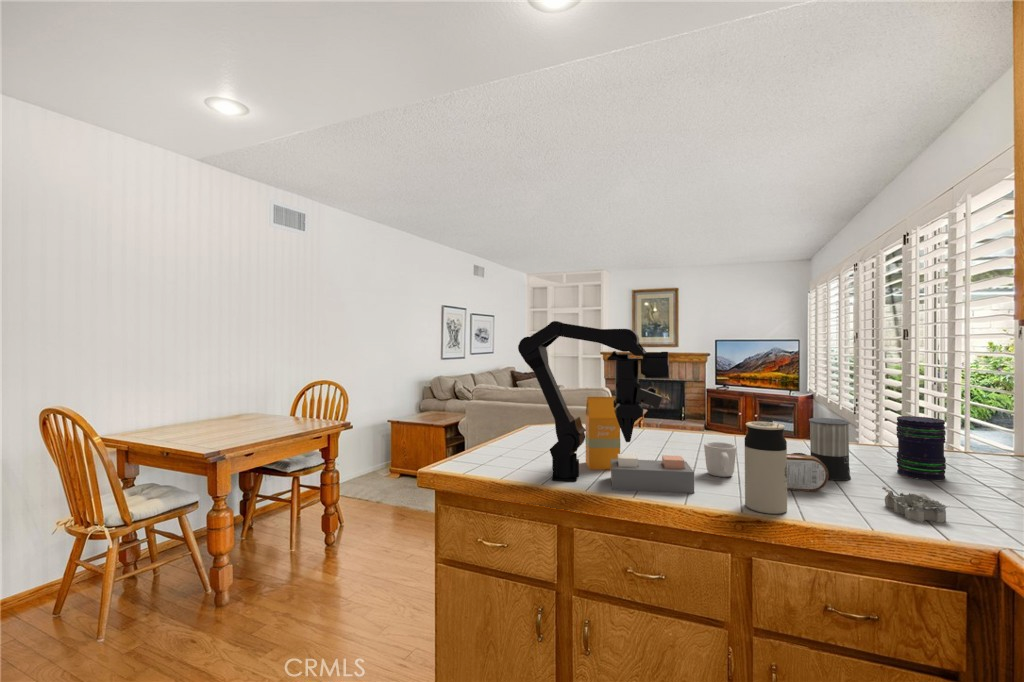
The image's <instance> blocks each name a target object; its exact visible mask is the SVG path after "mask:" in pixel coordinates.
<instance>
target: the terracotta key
mask: <svg viewBox="0 0 1024 682" xmlns="http://www.w3.org/2000/svg"><path fill="white" fill-rule="evenodd" d="M661 461H662V466H663V468H670V469H684V461H685V459H684V458H683V457H682V456H681V455H661Z"/></svg>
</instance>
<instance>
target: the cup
mask: <svg viewBox="0 0 1024 682" xmlns="http://www.w3.org/2000/svg"><path fill="white" fill-rule="evenodd" d="M703 449H704V457H705V465H706V467H705V468H706V471H707V473H708V474H709V475H712V476H714V477H720V478H727V477H732V476H733V475H734V472H735V464H736V457H737V446H736V445H735V444H732V443H728V442H720V441H710V442H705V443H704V444H703Z"/></svg>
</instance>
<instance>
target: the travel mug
mask: <svg viewBox="0 0 1024 682" xmlns="http://www.w3.org/2000/svg"><path fill="white" fill-rule="evenodd" d="M745 426H746V427H747V428H746V429H747V433H746V435H745V437H744V505H745V507H747V508H748V509H750V510H752V511H754V512H757V513H761V514H768V515H780V514H784V513H787V511H788V490H787V454H788V451H787V449H788V441H787V440H786V438H785V436H784V430H785V428H786V426H785V425H784V424H781V423H778V422H770V421H748V422H746V423H745Z"/></svg>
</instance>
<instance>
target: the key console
mask: <svg viewBox="0 0 1024 682" xmlns="http://www.w3.org/2000/svg"><path fill="white" fill-rule="evenodd" d="M610 482H611V489H612V490H618V491H619V490H620V491H638V492H641V491H643V492H659V493H660V492H661V493H663V492H664V493H678V494H679V493H681V494H682V493H683V494H695V471H694V470H693V468H692V467H691V466H690V464H689V463H688V462H687V461H686V460H684V469H670V468H663V466H662V460H658V459H657V460H653V459H638V467H619V466H618V459H611V469H610Z"/></svg>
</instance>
